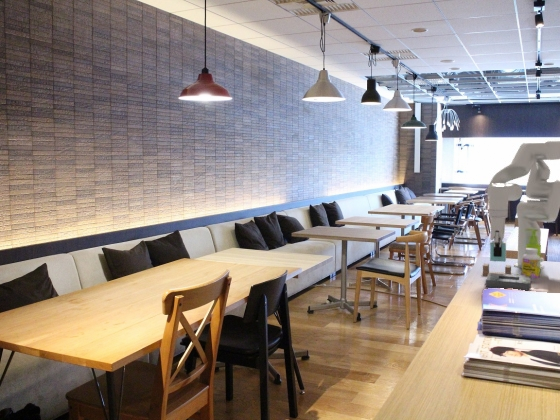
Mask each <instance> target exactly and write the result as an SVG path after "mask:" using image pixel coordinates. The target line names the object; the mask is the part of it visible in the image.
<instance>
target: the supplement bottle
mask: <svg viewBox="0 0 560 420" xmlns="http://www.w3.org/2000/svg"><path fill="white" fill-rule="evenodd" d="M525 251H526V254H524V255H523V262H522V268H521V275H523V276H531V279H538V278H540V273H539V267H540V264H541V262H540V257H539V255H537V252H538V249H535V248H526V249H525Z"/></svg>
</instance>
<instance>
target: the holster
mask: <svg viewBox="0 0 560 420" xmlns="http://www.w3.org/2000/svg"><path fill="white" fill-rule="evenodd" d="M504 267H505V268H504V269H505V270H504V272H499V271H498V272H497V271H490V263H483V265H482V272H481V274H480V276H481V277H488V275H489V273H497V274H510V275H514V273H513V272H512V265H510V264H506V265H505V266H504Z"/></svg>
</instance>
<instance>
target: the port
mask: <svg viewBox="0 0 560 420" xmlns="http://www.w3.org/2000/svg"><path fill="white" fill-rule="evenodd" d="M531 283H532V278H531V276H523V275H522V274H521V275H520V274H512V275H510V274H497V273H489V275H488V276H486V279H485V288H490V289H500V288H513V289H521V290H520V291H523V290H530V291H531Z"/></svg>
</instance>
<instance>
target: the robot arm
mask: <svg viewBox="0 0 560 420" xmlns="http://www.w3.org/2000/svg"><path fill="white" fill-rule="evenodd" d="M546 160H548V161H549V160H550V161H553V160H554V161H556V160H557V161H558V160H560V140H537V141H536V140H534V141H533V140H532V141H525V142H523V143H522V144H520V146H519V148H518V150H517V152H516V153H515V155H514V157H513V159H512V162H511V163H510V164H508V165H507V166H505V167H504V168H502V169H500V170H499V171H498V172H496V173H495V175H493V176H492V179H491V180H490V182H489V184H488V186H487V197H488V198H489V199H488V209H489V210H488V217H489V218H490V219H491V221H490V238H489V239H490V241H494V257H501V256H502V247H501V241H503V240H504V239H505V238H504V237H505V230H506V229H505V228H506V218H509V201H511V202H512V201H513V202H514V201H518V200H519V199H520V198H521V197H522V196H523V188H522V186H521V185H519V184H517V183H513V182H511V183H509V182H510V181H513V180H516V179H517V180H518V179H520V178H522V177H524V176H525V177H526V176H527V175H528V178H527V182H526V187H525V191H524V192H525V196H526V197H527V198H528V199H527V200H524V199H523V200H521V201H520V202H519V203H518V204H517V206H516V216H517V222H518V227H517V228H518V229H517V230H518V233H517V234H518V235H517V262H515V263H514V264H513V267H514V268H521V269H522V262H523V255H524V254H526V251H525V249H526V244H529V239H530V237H531V236H532V231H524V230H526V229H536V230H538V231H537V232H536V236H537V237H538V244H539V245H541V240H542V239H541V236H542V230H541V227H540V225H539V224H538V222H542V223H543V222H544V223H545V222H546V223H552V222H555V221H556V220H557V218H558V215H559V212H560V180H558V179H553V178H552V179H550V175H551V169H550V167H549V166H548V164H547V163H546ZM499 242H500V243H499ZM543 262H545V258H544V257H541V259H540V270H543V269H544V265H543V264H541V263H543Z"/></svg>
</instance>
